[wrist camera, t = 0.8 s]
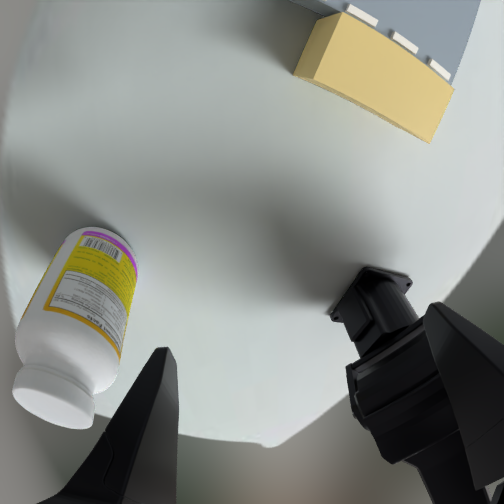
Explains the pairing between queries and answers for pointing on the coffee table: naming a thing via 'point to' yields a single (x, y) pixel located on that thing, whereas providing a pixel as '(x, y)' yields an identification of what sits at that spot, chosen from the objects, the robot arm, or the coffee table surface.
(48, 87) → the coffee table surface
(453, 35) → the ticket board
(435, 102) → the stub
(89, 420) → the supplement bottle
